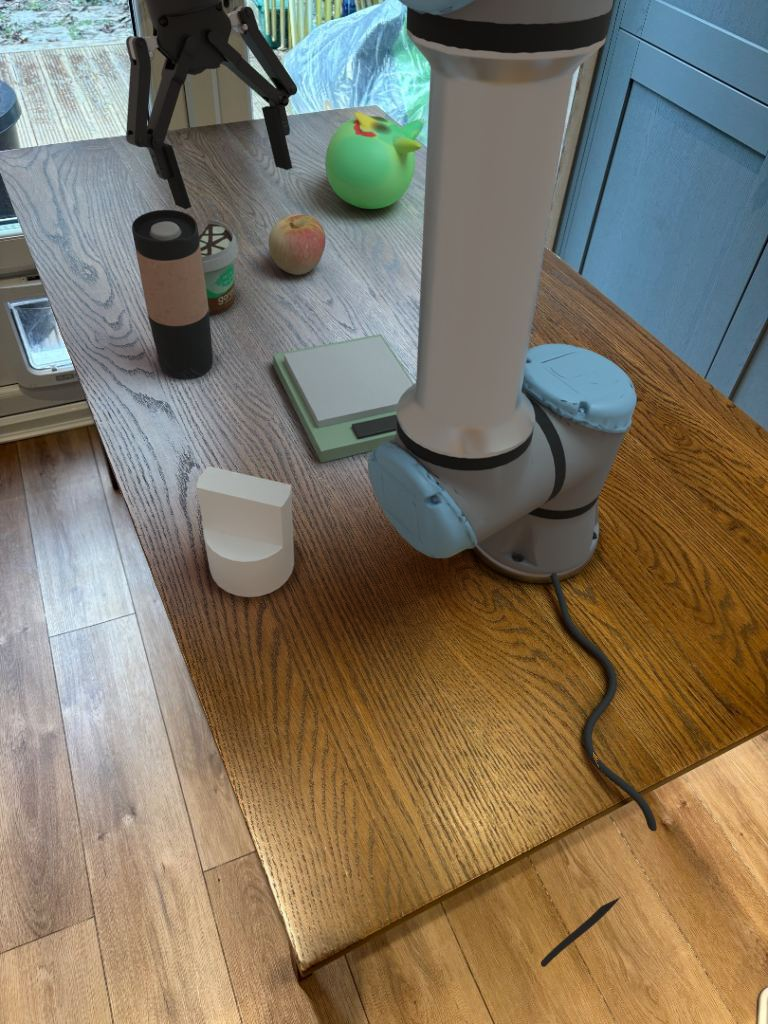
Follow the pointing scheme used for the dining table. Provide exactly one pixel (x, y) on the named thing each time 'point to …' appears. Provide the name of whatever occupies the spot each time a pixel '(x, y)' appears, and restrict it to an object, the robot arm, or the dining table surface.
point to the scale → (344, 393)
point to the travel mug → (174, 291)
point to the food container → (218, 265)
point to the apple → (297, 243)
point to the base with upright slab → (246, 531)
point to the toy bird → (372, 160)
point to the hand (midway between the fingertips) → (235, 186)
